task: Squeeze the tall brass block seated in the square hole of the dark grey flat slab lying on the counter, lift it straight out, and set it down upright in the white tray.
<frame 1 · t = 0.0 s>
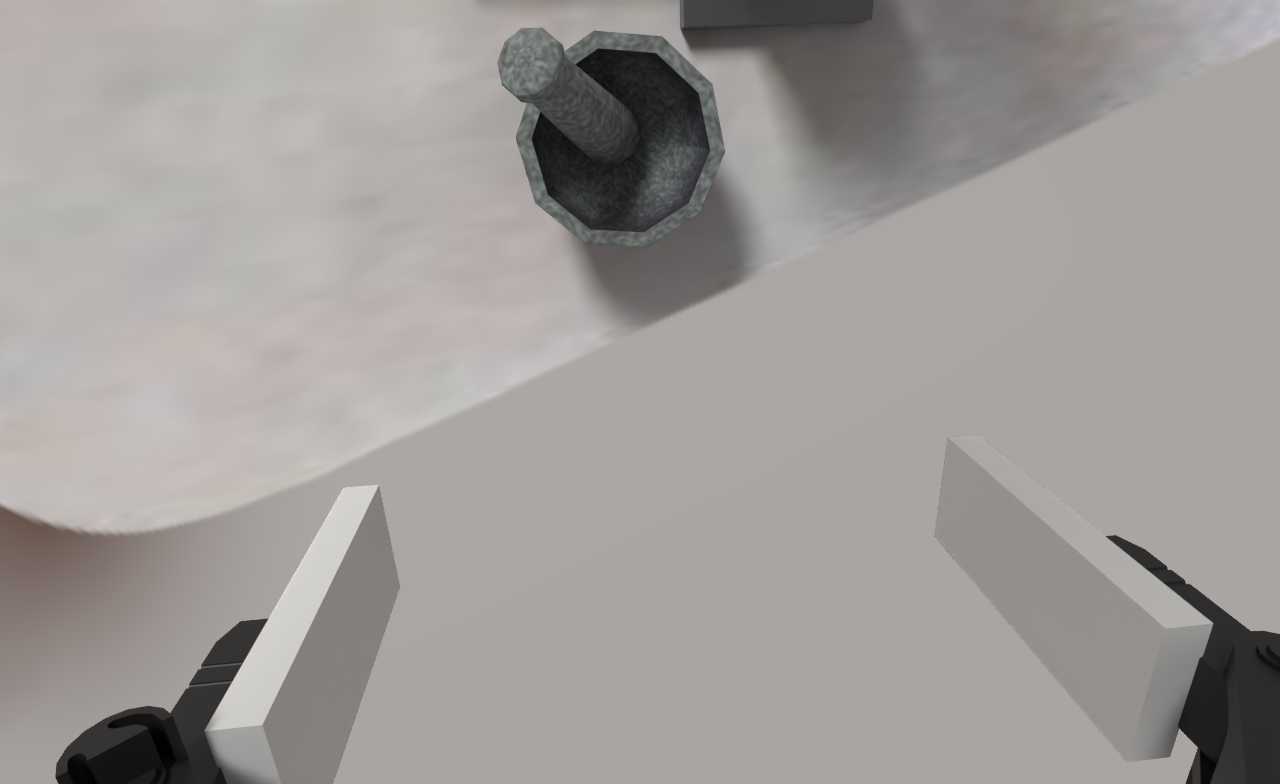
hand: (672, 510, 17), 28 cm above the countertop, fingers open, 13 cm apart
mortar and pestle: (603, 129, 40), on the countertop
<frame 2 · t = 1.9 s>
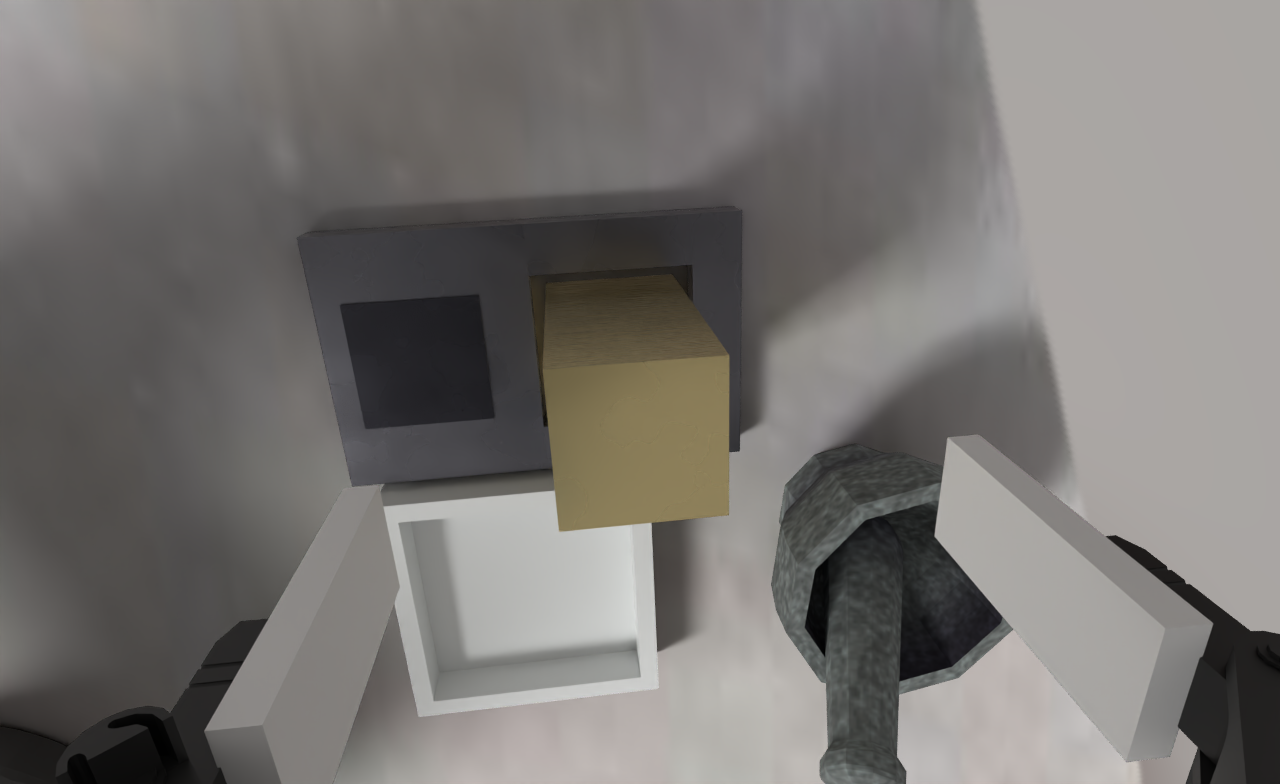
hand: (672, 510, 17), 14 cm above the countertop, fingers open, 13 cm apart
mortar and pestle: (831, 512, 34), on the countertop
brass block: (613, 338, 29), resting in dark grey flat slab
white tray: (529, 574, 33), on the countertop
dark grey flat slab: (539, 344, 29), on the countertop
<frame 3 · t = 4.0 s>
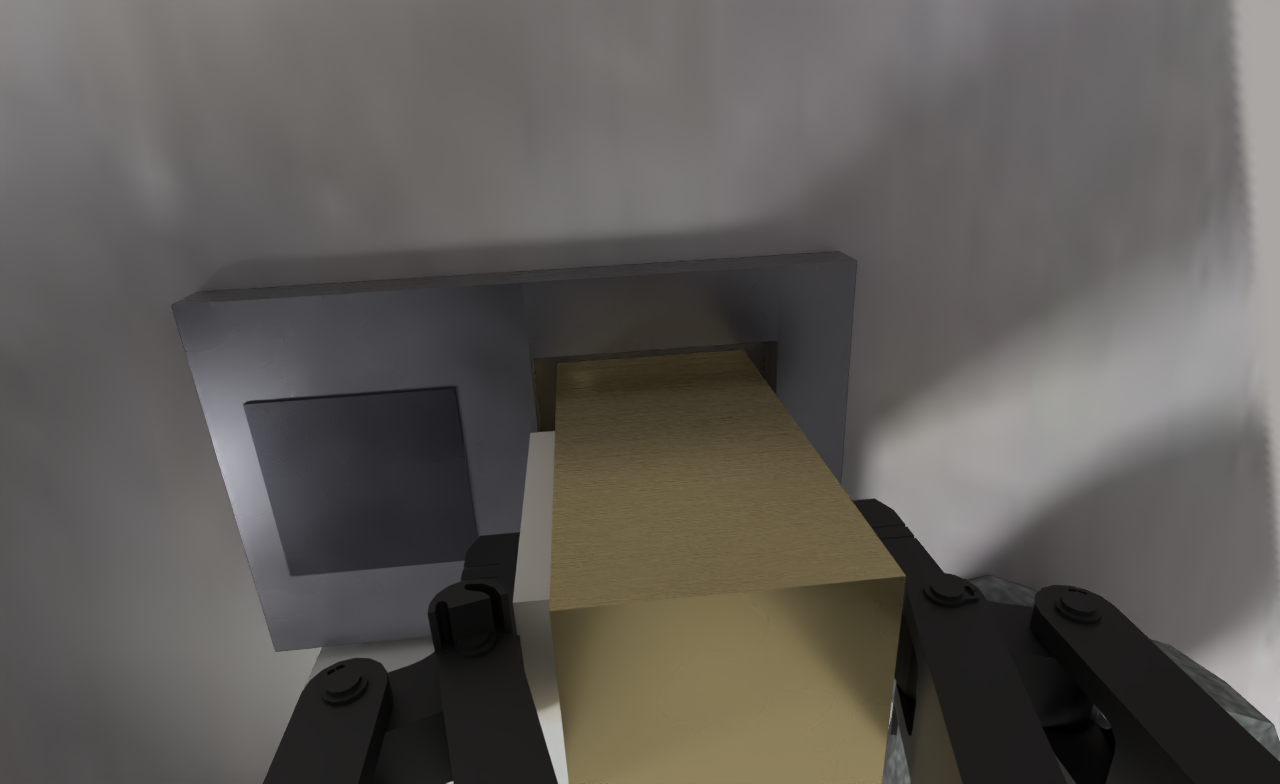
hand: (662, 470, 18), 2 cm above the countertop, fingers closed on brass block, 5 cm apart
mortar and pestle: (947, 661, 25), on the countertop
brass block: (654, 440, 20), resting in dark grey flat slab, touching gripper
white tray: (532, 747, 24), on the countertop
dark grey flat slab: (546, 449, 20), on the countertop
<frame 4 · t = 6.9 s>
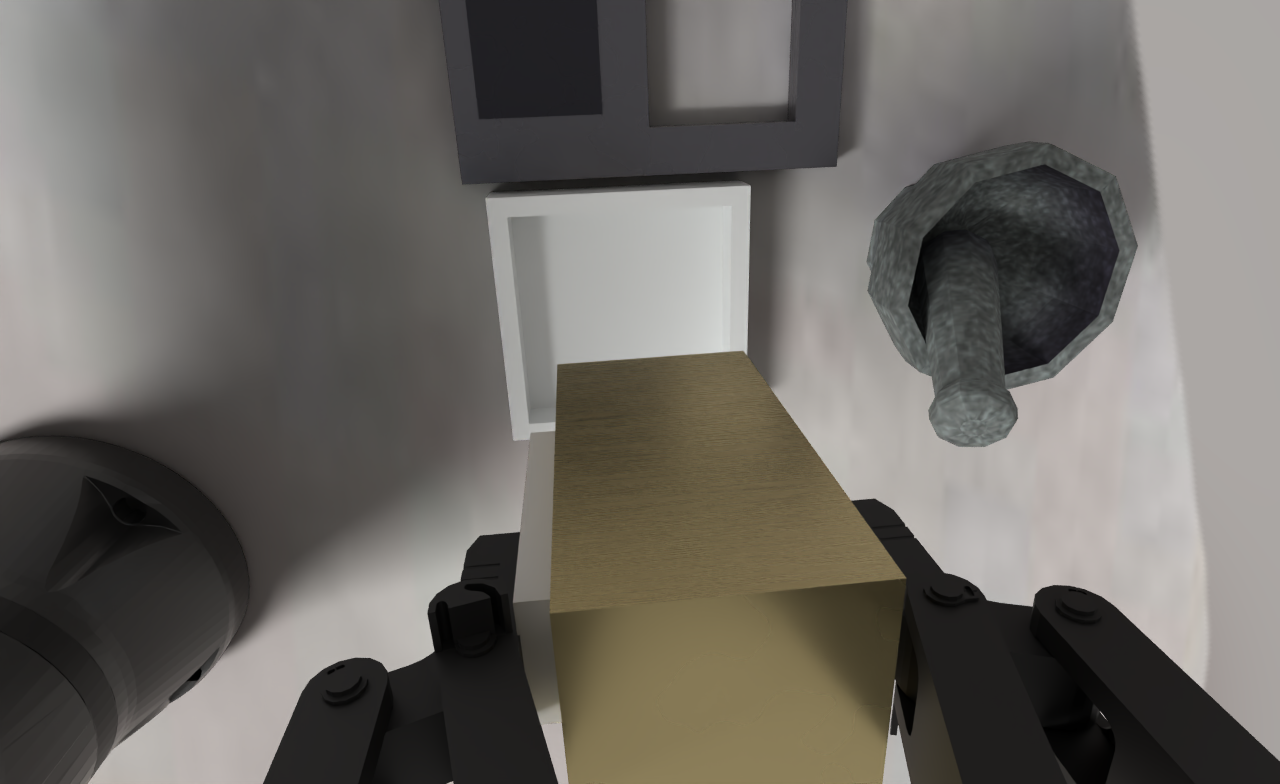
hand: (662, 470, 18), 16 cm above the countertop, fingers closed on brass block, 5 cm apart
mortar and pestle: (918, 255, 34), on the countertop
brass block: (654, 441, 20), point 15 cm above the countertop, touching gripper
white tray: (622, 306, 34), on the countertop
dark grey flat slab: (646, 46, 30), on the countertop
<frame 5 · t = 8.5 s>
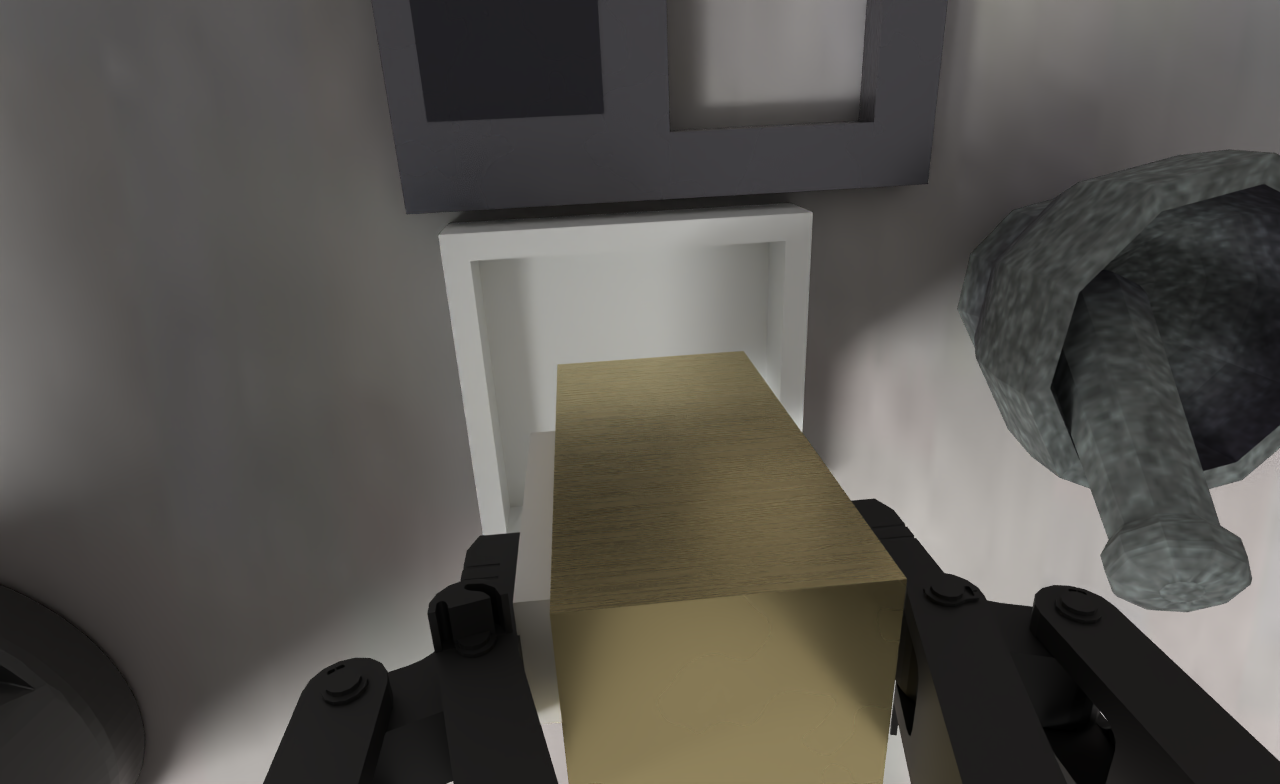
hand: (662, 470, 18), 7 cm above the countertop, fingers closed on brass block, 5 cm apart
mortar and pestle: (1024, 299, 26), on the countertop
brass block: (654, 441, 20), point 5 cm above the countertop, touching gripper
white tray: (631, 372, 25), on the countertop
dark grey flat slab: (664, 18, 21), on the countertop
when the fingers open (4 cm above the countertop, at t = 9.9 s): brass block drops 2 cm, resting on white tray.
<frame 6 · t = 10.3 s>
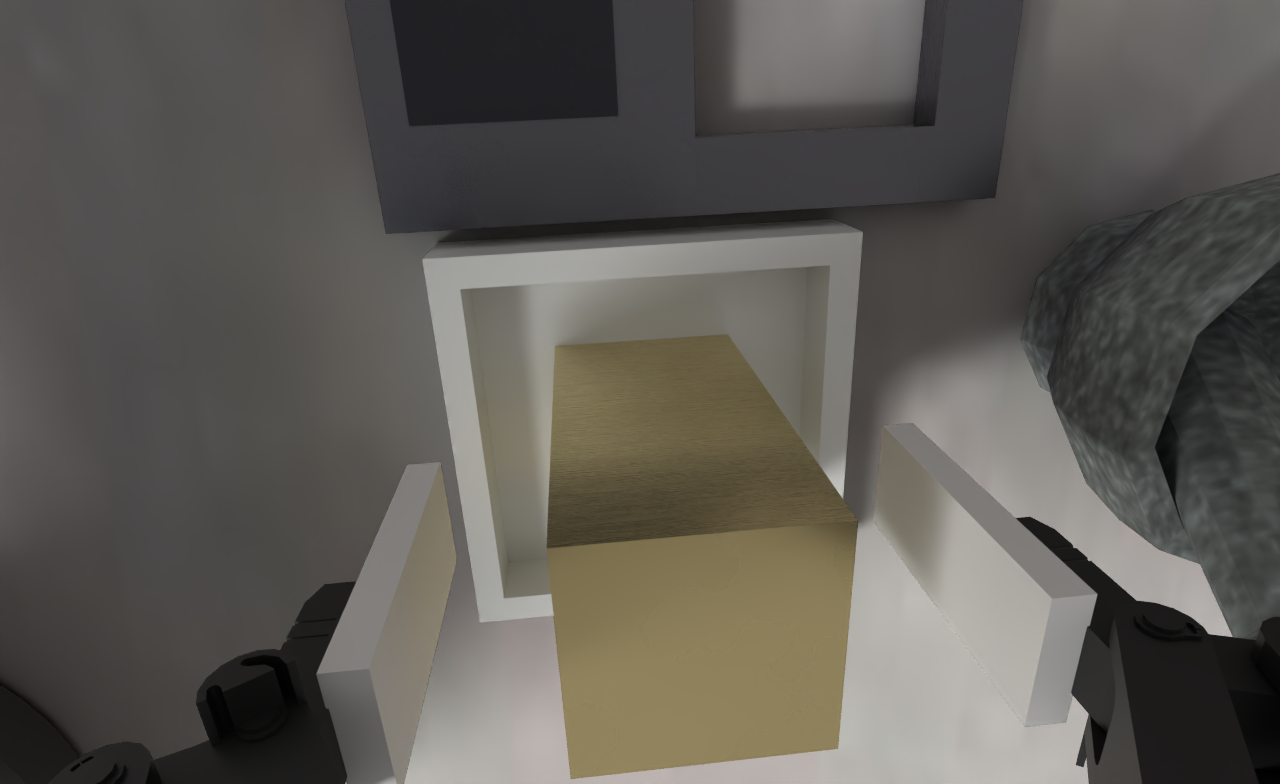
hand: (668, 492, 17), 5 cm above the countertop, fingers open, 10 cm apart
mortar and pestle: (1096, 327, 23), on the countertop
brass block: (645, 419, 22), resting on white tray
white tray: (646, 412, 22), on the countertop
dark grey flat slab: (689, 3, 18), on the countertop
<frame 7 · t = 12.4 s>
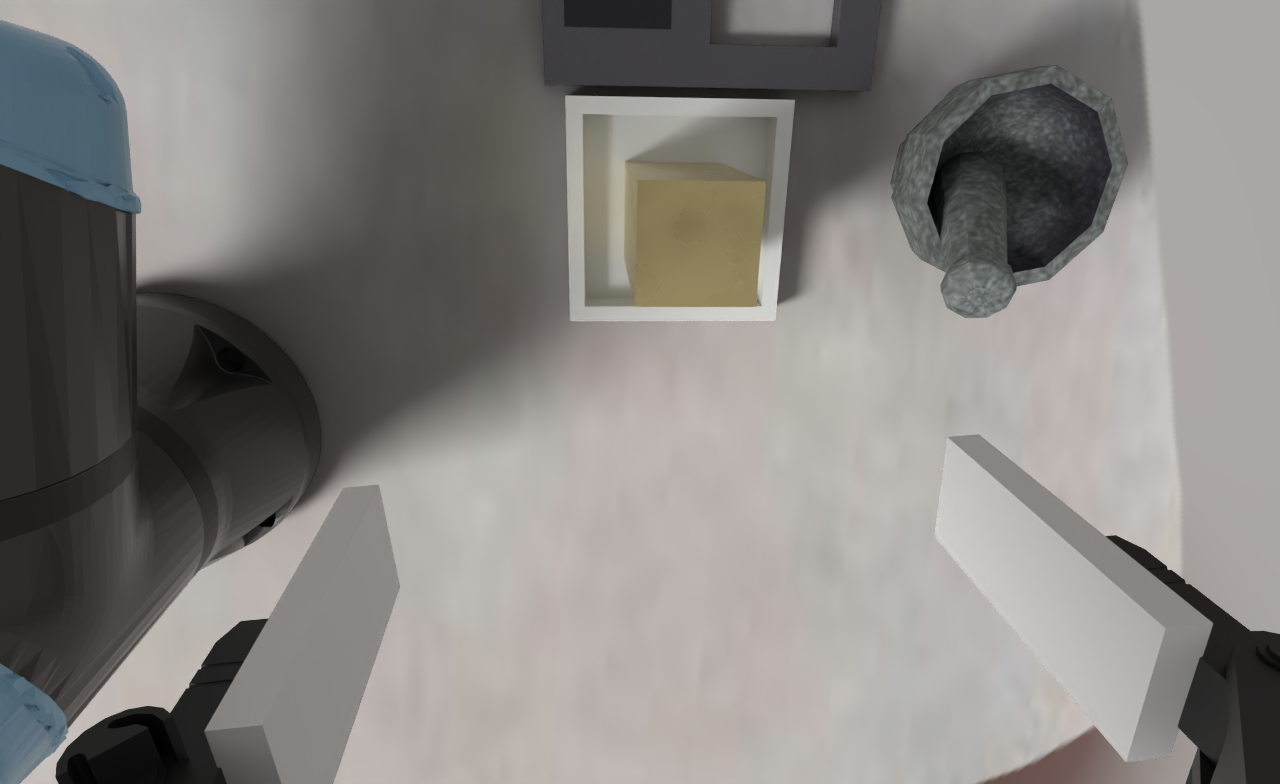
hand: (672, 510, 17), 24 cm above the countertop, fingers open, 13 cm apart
mortar and pestle: (936, 181, 39), on the countertop
brass block: (671, 211, 38), resting on white tray
white tray: (672, 209, 38), on the countertop
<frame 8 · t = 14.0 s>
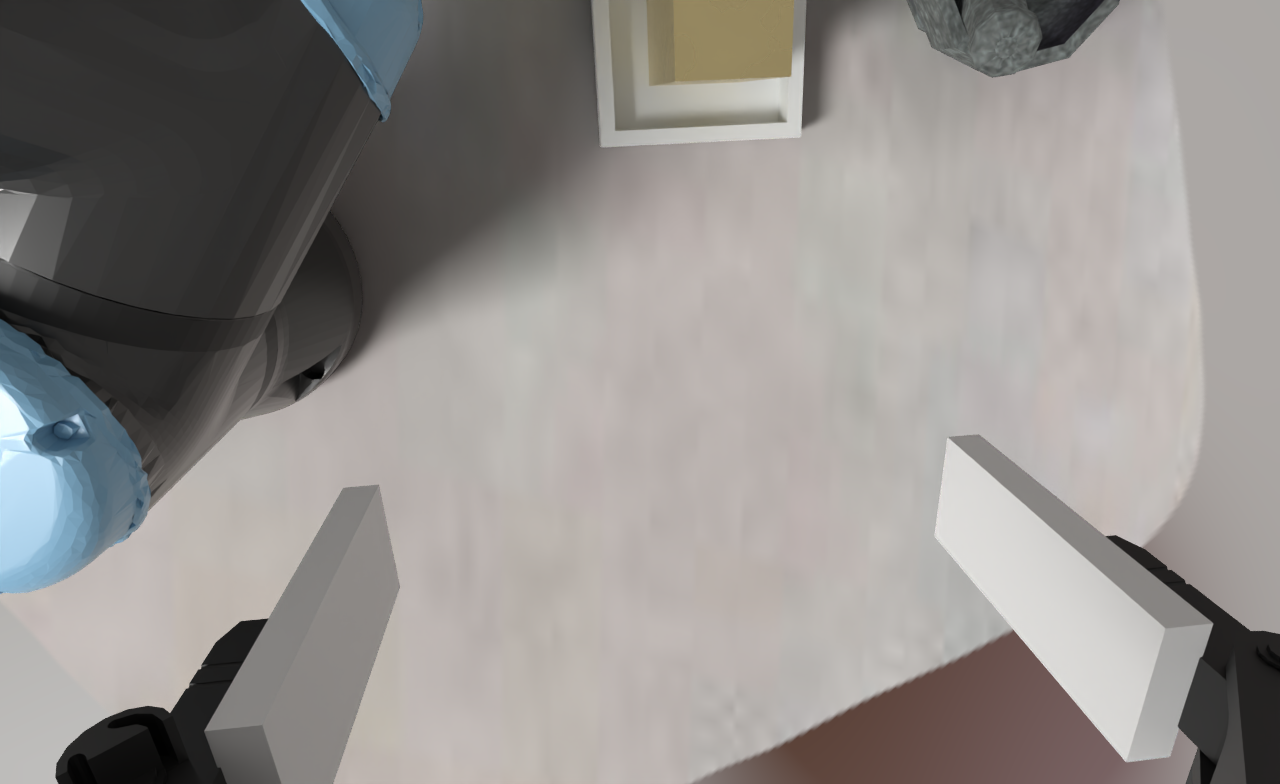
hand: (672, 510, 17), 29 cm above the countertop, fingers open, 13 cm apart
brass block: (693, 33, 39), resting on white tray
white tray: (694, 33, 39), on the countertop
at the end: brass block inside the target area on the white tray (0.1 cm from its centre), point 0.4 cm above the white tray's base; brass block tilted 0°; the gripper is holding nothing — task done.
